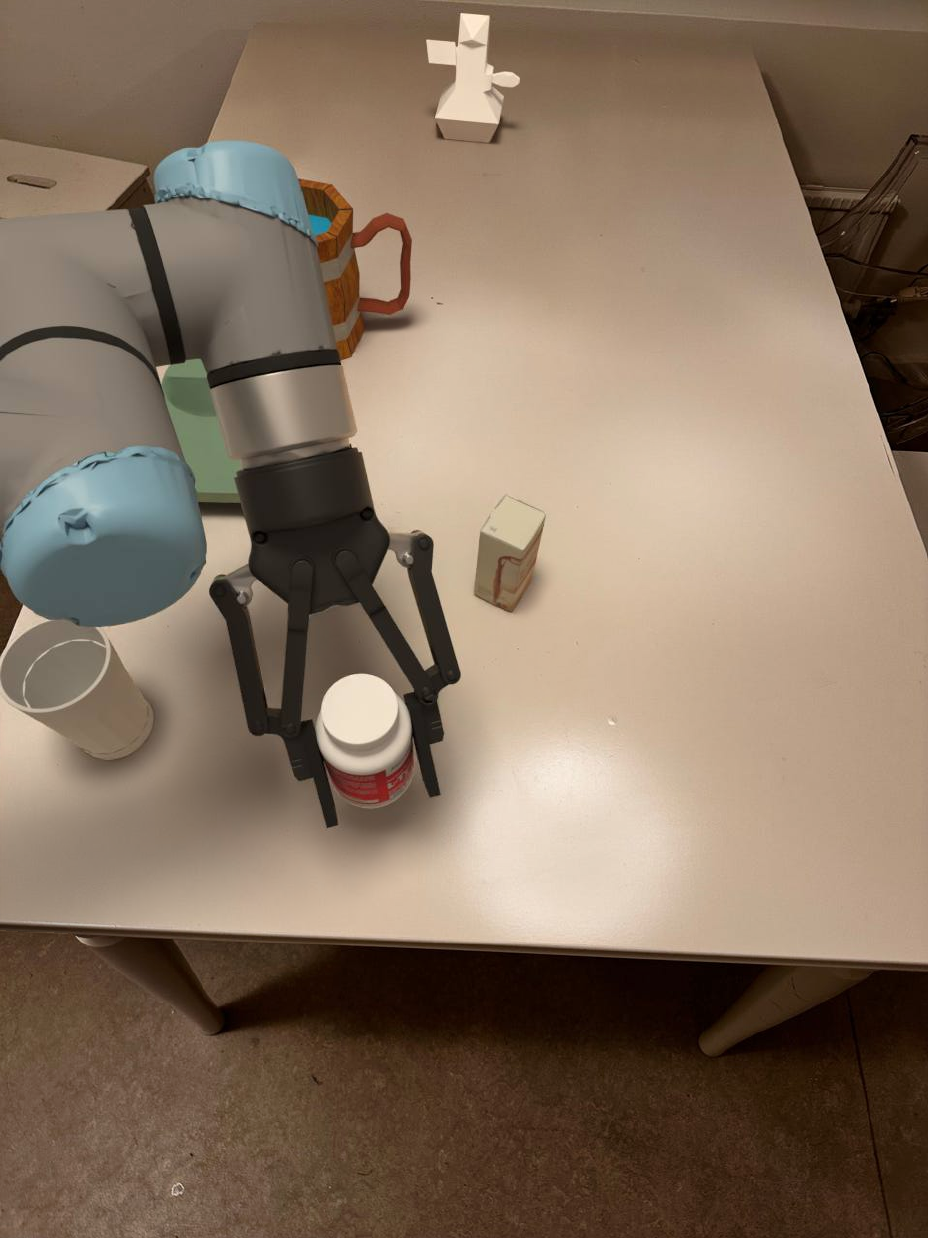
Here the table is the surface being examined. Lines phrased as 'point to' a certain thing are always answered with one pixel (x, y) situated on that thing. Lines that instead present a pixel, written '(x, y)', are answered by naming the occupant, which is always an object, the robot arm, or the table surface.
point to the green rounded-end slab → (200, 432)
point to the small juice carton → (508, 551)
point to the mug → (349, 261)
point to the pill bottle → (366, 740)
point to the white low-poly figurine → (470, 83)
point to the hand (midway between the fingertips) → (381, 801)
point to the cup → (76, 687)
